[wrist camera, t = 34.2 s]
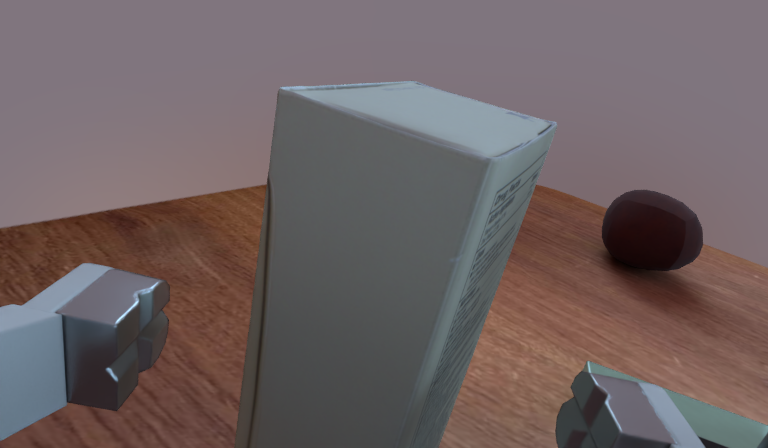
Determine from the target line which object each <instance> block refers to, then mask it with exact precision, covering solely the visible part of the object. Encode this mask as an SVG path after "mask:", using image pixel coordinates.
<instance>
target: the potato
mask: <svg viewBox="0 0 768 448" xmlns="http://www.w3.org/2000/svg"><path fill="white" fill-rule="evenodd" d="M602 239H603V242H604V245H605V247H606V248H607V250H608V251H609V252H610V254H611V255H613V256H614V257H615V258H616V259H618V260H619V261H621V262H624V263H626V264H628V265H630V266H634V267H638V268H643V269H647V270H658V271H669V270H675V269H679V268H681V267H683V266H685V265H687V264H689V263H691V262H693V261H694V260H695V259H696V258H697V257H698V255H699V254H700V251H701V248H702V246H703V233H702V227H701V224H700V222H699V220H698V218H697V215H696V214H695V213H694V212H693V211H692V210H690V209H689V208H688V207H687V206H686V205H685V204H684V203H682V202H680V201H678V200H676V199H674V198H672V197H670V196H667V195H665V194H661V193H658V192H655V191H648V190H634V191H630V192H626V193H624V194H623V195H621V196H620V197H618V198H616V199H615V200H614V201H613V202H612V204H611V205H610V206H609V208H608V209H607V211H606V214H605V217H604V220H603V226H602Z"/></svg>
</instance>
